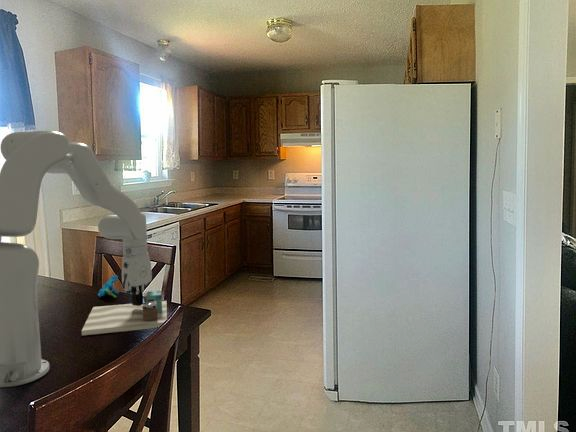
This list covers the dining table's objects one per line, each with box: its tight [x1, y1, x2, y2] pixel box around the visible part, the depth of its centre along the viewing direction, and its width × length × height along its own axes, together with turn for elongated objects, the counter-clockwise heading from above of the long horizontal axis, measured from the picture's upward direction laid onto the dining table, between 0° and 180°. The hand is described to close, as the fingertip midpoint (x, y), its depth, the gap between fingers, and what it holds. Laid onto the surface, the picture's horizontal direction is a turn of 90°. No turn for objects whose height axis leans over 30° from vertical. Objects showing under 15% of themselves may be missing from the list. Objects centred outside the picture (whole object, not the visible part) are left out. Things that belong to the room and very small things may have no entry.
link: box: [143, 292, 158, 321], centre depth 143 cm, size 18×4×4 cm, turn 19°
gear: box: [97, 274, 120, 299], centre depth 167 cm, size 11×6×10 cm
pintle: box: [143, 300, 156, 309], centre depth 136 cm, size 4×4×5 cm
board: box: [81, 300, 168, 336], centre depth 141 cm, size 22×24×2 cm
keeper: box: [146, 290, 163, 313], centre depth 144 cm, size 5×4×6 cm
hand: (137, 304), depth 146 cm, fingers closed
